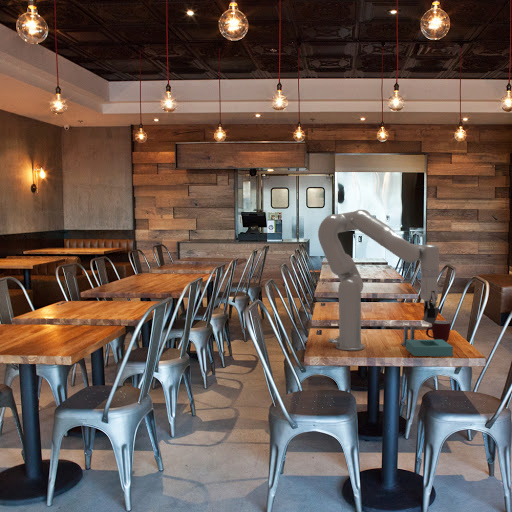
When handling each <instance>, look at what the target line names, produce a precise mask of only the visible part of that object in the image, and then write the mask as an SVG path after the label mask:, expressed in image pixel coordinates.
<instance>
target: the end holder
mask: <svg viewBox="0 0 512 512" xmlns="http://www.w3.org/2000/svg"><path fill="white" fill-rule="evenodd" d="M405 350H406V351H408V352H409V353H410V354H411V355H412V356H413V355H414V356H430V357H453V356H454V353H453V352H454V346H453V345H451V344H449V343H448V341H447V342H445V341H444V340H442V339H436V340H434V339H414V340H410V339H408V340H406V347H405ZM414 356H413V357H414Z"/></svg>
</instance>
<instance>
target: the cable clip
mask: <svg viewBox="0 0 512 512" xmlns="http://www.w3.org/2000/svg"><path fill="white" fill-rule="evenodd" d="M408 327H409V326H408V325H405V324H404V325H403V342H400V344H401V346H402V345H403V346H406V340H415V325H413V324H411V325H410V330H409V328H408ZM409 332H410V335H409ZM408 335H409V336H408ZM408 337H410V339H409V338H408ZM403 346H402V347H403Z"/></svg>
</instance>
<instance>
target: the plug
mask: <svg viewBox="0 0 512 512" xmlns="http://www.w3.org/2000/svg"><path fill="white" fill-rule="evenodd" d="M437 306H438V301H436V304H435V318H428V317H427V309H426V312H425V314H424V313H423V316H422V317H423V318H422V321H424V322H426V323H429V324H430V325H432V324H434V323H435V321H437V317H438V315H439V312H440V310H441V309H440V308H438V307H437ZM427 308H428V306H427Z"/></svg>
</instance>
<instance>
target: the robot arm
mask: <svg viewBox="0 0 512 512" xmlns="http://www.w3.org/2000/svg"><path fill="white" fill-rule="evenodd" d="M351 231H352V232H353V231H359V232H361V233H362V234H364V235H366V237H368V238H370V239H371V240H373V241H374V242H376V243H377V244H379V245H380V246H381V247H383V248H385V249H386V250H387V251H388V252H390V253H391V254H393V255H394V256H396V257H397V258H399V259H401V260H403V262H406V263H408V264H409V263H410V264H411V263H416V262H417V261H420V270H419V271H420V273H419V274H420V278H421V279H420V295H419V298H420V299H421V300H422V301H423V315H424V314H425V312H426V309H427V317H428V318H435V304H436V302H438V297H439V293H438V292H439V291H438V290H439V288H438V278H439V277H440V247H439V245H438V244H416V243H411V242H409V241H408V240H406V239H404V238H403V237H401V236H400V235H398V233H396V232H395V231H394V229H392V228H391V226H390V225H388V224H386V223H384V222H383V221H381V220H380V219H378V218H377V217H375V216H374V215H372V214H371V213H370V212H369V211H368V210H365V209H357V210H355V211H350V212H349V211H347V212H344V213H335V214H334V213H333V214H329V215H327V216H326V217H325V218H324V219H323V220H322V221H321V223H320V225H319V227H318V231H317V237H318V241H319V244H320V247H321V249H322V251H323V254H324V256H325V259H326V260H327V263H328V265H329V268H330V271H331V272H332V273H333V274H334V275H336V276H337V277H338V280H339V281H340V282H339V285H338V288H337V289H338V291H337V293H338V314H339V315H338V317H339V318H338V320H339V321H338V323H339V324H338V328H339V329H338V332H339V333H338V336H337V337H336V338H328V344H335V348H336V349H337V350H341V351H352V352H353V351H360V350H361V351H362V350H364V349H365V345H364V344H363V343H362V303H361V302H362V300H361V299H362V298H361V294H362V291H363V289H364V281H363V279H362V276H361V274H360V272H359V269H358V268H357V265H356V263H355V261H354V259H353V258H352V256H351V255H349V254H348V253H346V252H345V249H344V247H343V245H342V242H341V241H340V239H339V236H338V235H339V234H341V233H345V232H351ZM427 306H428V308H427Z"/></svg>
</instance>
